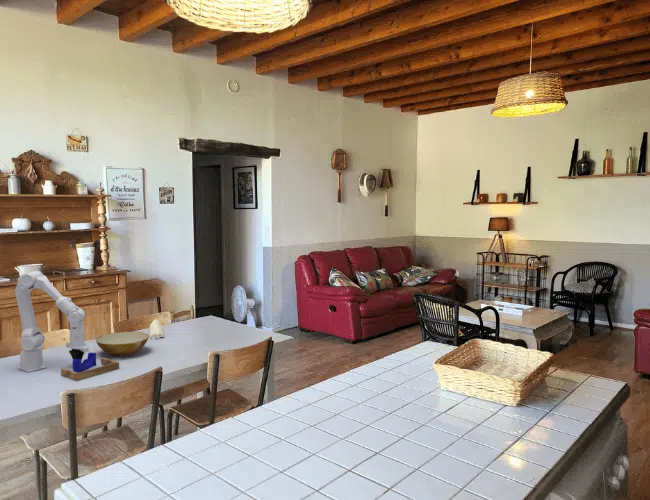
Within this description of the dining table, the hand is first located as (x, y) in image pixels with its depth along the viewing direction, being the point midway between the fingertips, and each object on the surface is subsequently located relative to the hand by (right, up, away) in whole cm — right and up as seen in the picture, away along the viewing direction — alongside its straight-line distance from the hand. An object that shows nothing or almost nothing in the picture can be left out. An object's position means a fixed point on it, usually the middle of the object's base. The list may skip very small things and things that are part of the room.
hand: (77, 365), depth 222 cm
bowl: (+11, 0, +24) cm, 26 cm away
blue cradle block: (+3, -2, -1) cm, 4 cm away
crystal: (+15, +3, +62) cm, 63 cm away
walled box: (+9, -2, -5) cm, 10 cm away
